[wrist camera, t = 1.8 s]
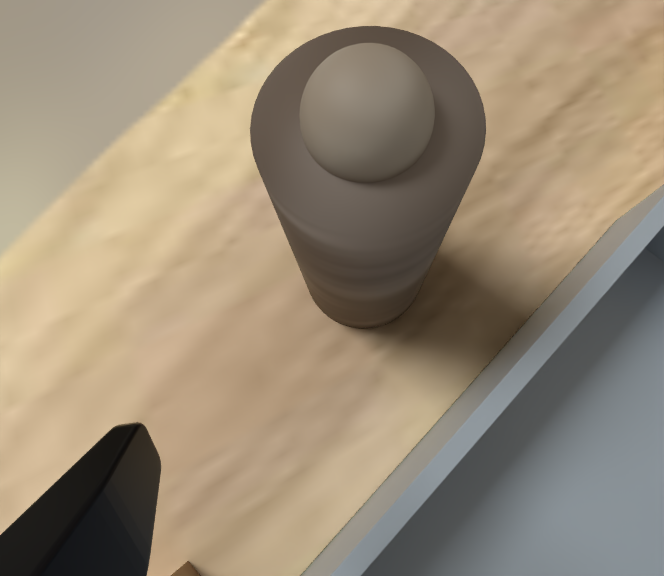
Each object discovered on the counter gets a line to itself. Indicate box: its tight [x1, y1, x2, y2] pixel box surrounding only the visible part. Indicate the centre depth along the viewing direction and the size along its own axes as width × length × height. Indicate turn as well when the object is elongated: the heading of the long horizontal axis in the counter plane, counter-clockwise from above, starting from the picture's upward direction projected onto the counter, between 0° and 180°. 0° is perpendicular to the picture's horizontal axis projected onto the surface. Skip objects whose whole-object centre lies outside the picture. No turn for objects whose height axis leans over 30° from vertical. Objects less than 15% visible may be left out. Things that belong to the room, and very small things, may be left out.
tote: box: [300, 185, 664, 576], centre depth 15 cm, size 14×21×5 cm
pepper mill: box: [250, 26, 486, 328], centre depth 15 cm, size 5×5×13 cm
